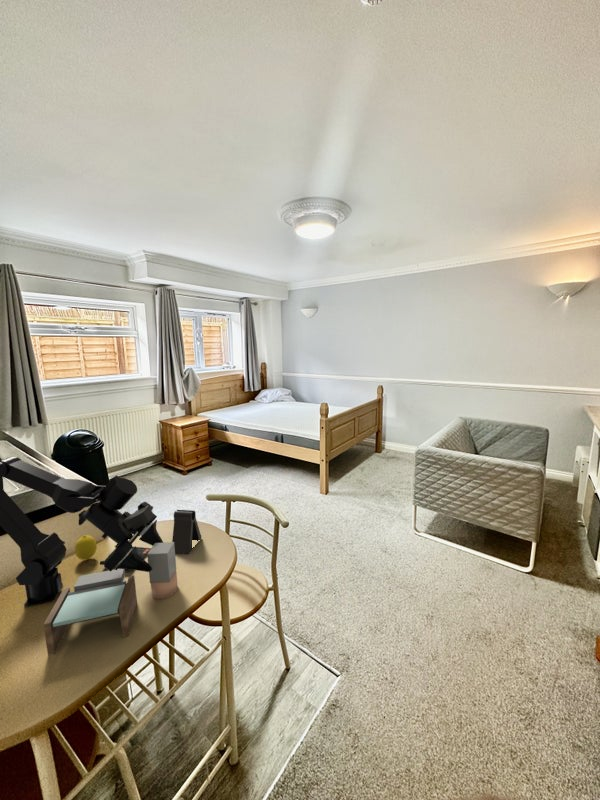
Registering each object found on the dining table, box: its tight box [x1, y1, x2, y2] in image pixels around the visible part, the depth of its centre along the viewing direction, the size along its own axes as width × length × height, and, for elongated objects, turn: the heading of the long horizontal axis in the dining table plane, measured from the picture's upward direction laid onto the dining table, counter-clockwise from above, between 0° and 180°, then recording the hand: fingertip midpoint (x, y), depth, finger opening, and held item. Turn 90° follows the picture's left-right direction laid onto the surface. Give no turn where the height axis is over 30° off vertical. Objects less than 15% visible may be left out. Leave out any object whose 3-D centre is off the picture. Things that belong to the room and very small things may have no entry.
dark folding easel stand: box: [171, 509, 203, 555], centre depth 108 cm, size 9×6×12 cm, turn 171°
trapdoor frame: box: [43, 574, 138, 656], centre depth 77 cm, size 15×11×7 cm
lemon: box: [74, 534, 98, 561], centre depth 102 cm, size 6×6×8 cm
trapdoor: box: [53, 569, 127, 627], centre depth 77 cm, size 12×14×2 cm
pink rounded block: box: [150, 570, 179, 600], centre depth 88 cm, size 6×6×4 cm
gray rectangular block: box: [146, 541, 177, 584], centre depth 87 cm, size 5×5×8 cm
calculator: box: [99, 546, 152, 567], centre depth 102 cm, size 9×12×3 cm
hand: (158, 558), depth 87 cm, fingers open, 9 cm apart
